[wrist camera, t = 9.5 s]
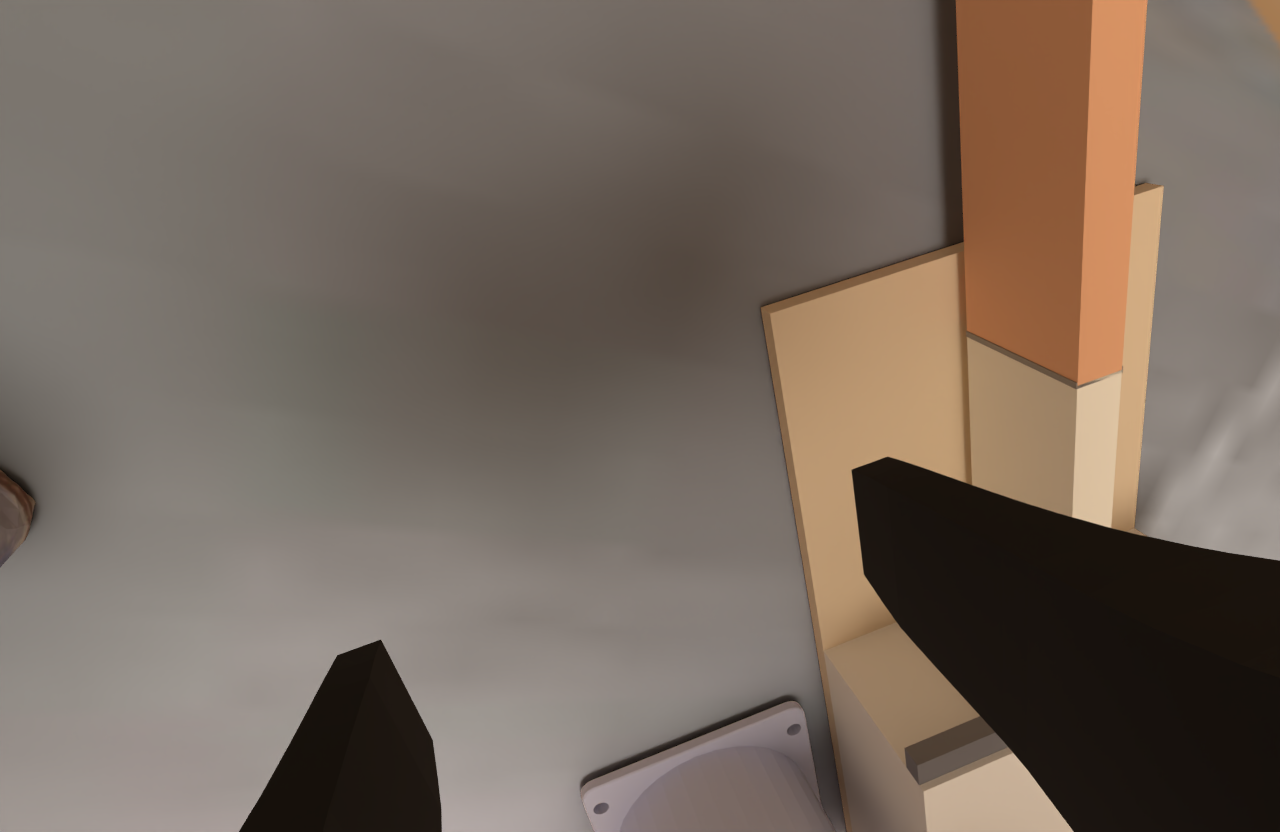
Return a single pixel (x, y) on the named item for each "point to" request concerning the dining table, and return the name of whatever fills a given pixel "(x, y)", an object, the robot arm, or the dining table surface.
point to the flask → (13, 516)
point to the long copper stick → (1048, 240)
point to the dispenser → (829, 537)
